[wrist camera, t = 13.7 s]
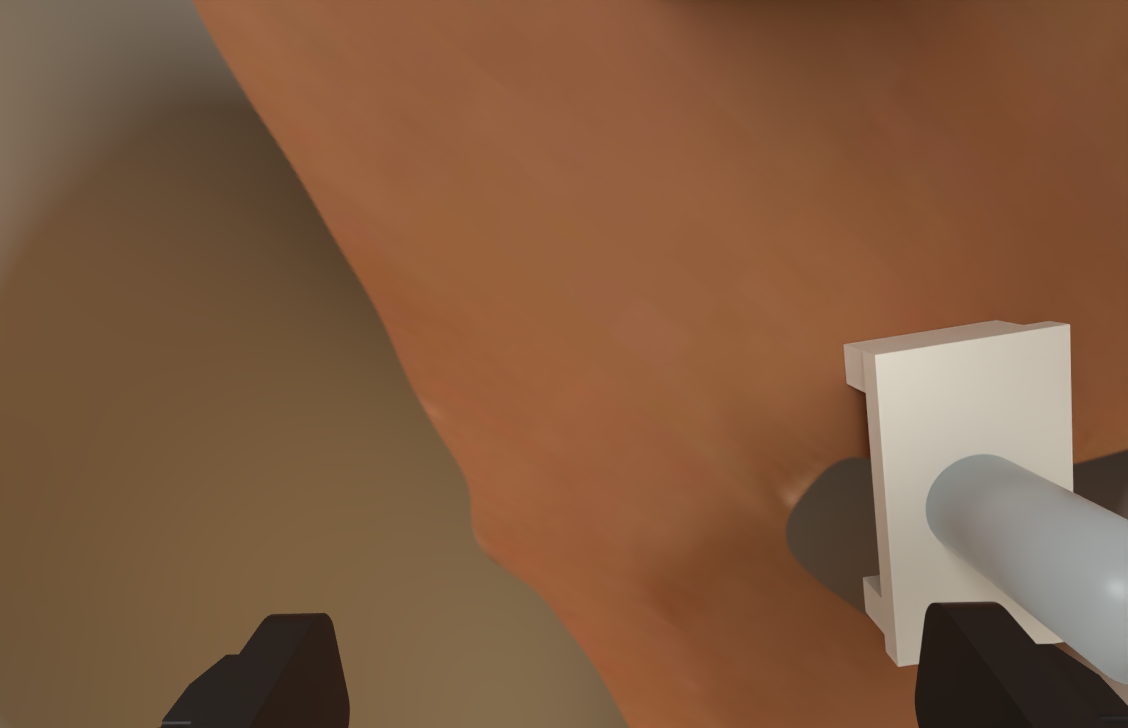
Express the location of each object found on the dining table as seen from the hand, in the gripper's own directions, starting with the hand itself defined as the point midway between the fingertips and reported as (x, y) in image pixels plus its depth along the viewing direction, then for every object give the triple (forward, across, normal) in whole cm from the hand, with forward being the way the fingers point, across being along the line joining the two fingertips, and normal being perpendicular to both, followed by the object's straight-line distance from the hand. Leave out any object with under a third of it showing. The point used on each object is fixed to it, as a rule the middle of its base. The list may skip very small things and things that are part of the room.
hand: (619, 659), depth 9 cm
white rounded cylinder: (+25, -19, +13) cm, 34 cm away
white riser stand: (+30, -19, +14) cm, 38 cm away
